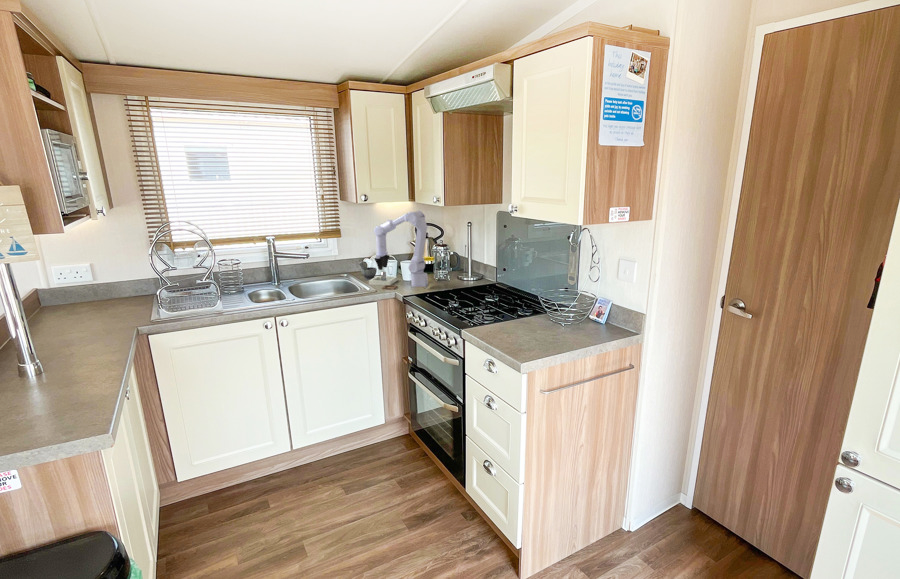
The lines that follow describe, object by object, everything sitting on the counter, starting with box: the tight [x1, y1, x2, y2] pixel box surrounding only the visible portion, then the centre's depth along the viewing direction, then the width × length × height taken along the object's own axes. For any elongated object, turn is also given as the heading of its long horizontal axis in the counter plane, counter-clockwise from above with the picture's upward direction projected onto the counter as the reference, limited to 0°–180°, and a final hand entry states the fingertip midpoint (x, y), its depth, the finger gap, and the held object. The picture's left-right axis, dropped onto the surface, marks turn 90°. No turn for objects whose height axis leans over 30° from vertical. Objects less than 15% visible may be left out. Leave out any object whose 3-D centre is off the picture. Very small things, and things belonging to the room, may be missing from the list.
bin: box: [368, 275, 398, 286], centre depth 268 cm, size 13×13×4 cm
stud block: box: [381, 284, 398, 291], centre depth 253 cm, size 10×10×2 cm
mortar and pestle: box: [358, 260, 378, 281], centre depth 282 cm, size 11×9×12 cm
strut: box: [380, 271, 387, 281], centre depth 267 cm, size 4×4×7 cm
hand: (382, 268), depth 266 cm, fingers open, 7 cm apart
